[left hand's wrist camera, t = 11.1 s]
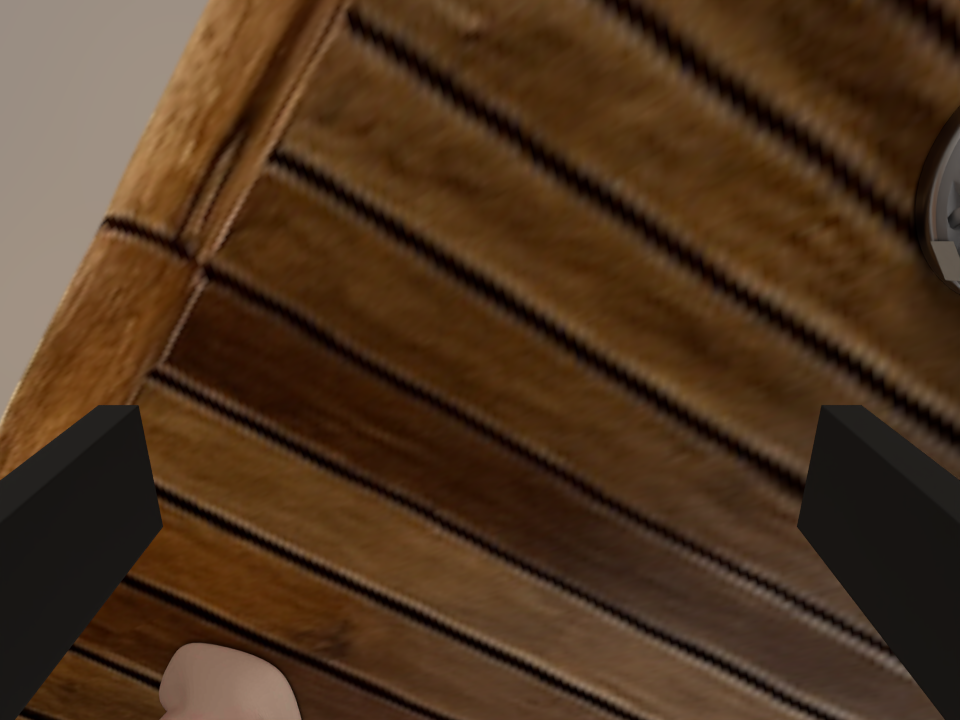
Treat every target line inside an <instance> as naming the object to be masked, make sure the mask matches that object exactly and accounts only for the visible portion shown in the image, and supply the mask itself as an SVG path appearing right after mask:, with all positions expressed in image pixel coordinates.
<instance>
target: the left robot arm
mask: <svg viewBox="0 0 960 720" xmlns="http://www.w3.org/2000/svg"><path fill="white" fill-rule="evenodd" d="M915 221H916V230H917V235H918V240H919V243H920V247H921V250H922V252H923V254H924V257H925V259H926V261H927V262H928V264H929V266H930V267H931V269H932V270H933V272H934V273H935V274H936V275H937V277H938V278H939V279H940V280H941V281H942V282H943V283H944V284H945V285H947V286H948V287H949V288H951V289H952V290H953V291H955V292H956V293H958V294H960V106H959V107H958V109H957V110H956V111H955V112H954V113H953V114H952V116H951V117H950V119H949V120H948V121H947V123H946V124H945V125H944V127H943V128H942V130H941V132H940V133H939V135H938V137H937V138H936V140H935V142H934V144H933V146H932V148H931V150H930V152H929V154H928V157H927V159H926V161H925V164H924V167H923V170H922V173H921V176H920V180H919V184H918V189H917V195H916V204H915ZM162 527H163V524H162V519H161V514H160V509H159V504H158V500H157V495H156V490H155V485H154V480H153V475H152V470H151V465H150V460H149V455H148V450H147V445H146V440H145V435H144V430H143V425H142V420H141V415H140V411H139V406H138V405H98V406H97V407H96V408H94V409H93V410H92V411H90V412H89V413H88V414H87V415H85V416H84V417H83V418H81V419H80V420H79V421H77V422H76V423H75V424H73V425H72V426H71V427H70V428H68V429H67V430H66V431H64V432H63V433H62V434H60V435H59V436H58V437H56V438H55V439H54V440H53V441H51V442H50V443H49V444H47V445H46V446H45V447H43V448H42V449H41V450H39V451H38V452H37V453H36V454H34V455H33V456H32V457H30V458H29V459H28V460H26V461H25V462H24V463H23V464H21V465H20V466H19V467H17V468H16V469H15V470H13V471H12V472H11V473H9V474H8V475H7V476H6V477H4V478H3V479H2V480H0V720H15V719H16V718H17V716H18V715H19V714H20V712H21V711H22V710H23V708H24V707H25V706H26V705H27V703H28V702H29V701H30V699H31V698H32V697H33V695H34V694H35V693H36V692H37V690H38V689H39V688H40V686H41V685H42V684H43V682H44V681H45V680H46V678H47V677H48V676H49V675H50V673H51V672H52V671H53V669H54V668H55V667H56V665H57V664H58V663H59V662H60V660H61V659H62V658H63V656H64V655H65V654H66V652H67V651H68V650H69V649H70V647H71V646H72V645H73V643H74V642H75V641H76V639H77V638H78V637H79V635H80V634H81V633H82V632H83V630H84V629H85V628H86V626H87V625H88V624H89V622H90V621H91V620H92V619H93V617H94V616H95V615H96V613H97V612H98V611H99V609H100V608H101V607H102V605H103V604H104V603H105V602H106V600H107V599H108V598H109V596H110V595H111V594H112V592H113V591H114V590H115V589H116V587H117V586H118V585H119V583H120V582H121V581H122V579H123V578H124V577H125V575H126V574H127V573H128V572H129V570H130V569H131V568H132V566H133V565H134V564H135V562H136V561H137V560H138V559H139V557H140V556H141V555H142V553H143V552H144V551H145V549H146V548H147V547H148V546H149V544H150V543H151V542H152V540H153V539H154V538H155V536H156V535H157V534H158V532H159V531H160V530H161V529H162ZM797 527H798V529H799V530H800V531H801V532H802V534H803V535H804V536H805V538H806V539H807V540H808V542H809V543H810V544H811V546H812V547H813V548H814V549H815V551H816V552H817V553H818V555H819V556H820V557H821V559H822V560H823V561H824V562H825V564H826V565H827V566H828V568H829V569H830V570H831V572H832V573H833V574H834V575H835V577H836V578H837V579H838V581H839V582H840V583H841V585H842V586H843V587H844V589H845V590H846V591H847V592H848V594H849V595H850V596H851V598H852V599H853V600H854V602H855V603H856V604H857V605H858V607H859V608H860V609H861V611H862V612H863V613H864V615H865V616H866V617H867V619H868V620H869V621H870V622H871V624H872V625H873V626H874V628H875V629H876V630H877V632H878V633H879V634H880V635H881V637H882V638H883V639H884V641H885V642H886V643H887V645H888V646H889V647H890V649H891V650H892V651H893V652H894V654H895V655H896V656H897V658H898V659H899V660H900V662H901V663H902V664H903V665H904V667H905V668H906V669H907V671H908V672H909V673H910V675H911V676H912V677H913V678H914V680H915V681H916V682H917V684H918V685H919V686H920V688H921V689H922V690H923V692H924V693H925V694H926V695H927V697H928V698H929V699H930V701H931V702H932V703H933V705H934V706H935V707H936V708H937V710H938V711H939V712H940V714H941V715H942V716H943V718H944V719H945V720H960V480H958V479H957V478H956V477H954V476H953V475H952V474H951V473H949V472H948V471H947V470H945V469H944V468H943V467H941V466H940V465H939V464H937V463H936V462H935V461H934V460H932V459H931V458H930V457H928V456H927V455H926V454H924V453H923V452H922V451H921V450H919V449H918V448H917V447H915V446H914V445H913V444H911V443H910V442H909V441H907V440H906V439H905V438H904V437H902V436H901V435H900V434H898V433H897V432H896V431H894V430H893V429H892V428H890V427H889V426H888V425H887V424H885V423H884V422H883V421H881V420H880V419H879V418H877V417H876V416H875V415H873V414H872V413H871V412H870V411H868V410H867V409H866V408H864V407H863V406H862V405H822V406H821V411H820V415H819V420H818V425H817V430H816V435H815V440H814V445H813V450H812V455H811V460H810V465H809V470H808V475H807V480H806V485H805V490H804V495H803V500H802V504H801V509H800V514H799V519H798V524H797Z"/></svg>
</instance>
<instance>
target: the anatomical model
mask: <svg viewBox="0 0 960 720" xmlns="http://www.w3.org/2000/svg"><path fill="white" fill-rule="evenodd" d="M159 698H160V702H161V704H162V706H163V707H164V709H165V710H166V711H167V712H166V713H165V715H164V716H163V717H162V718H161V719H160V720H301V716H300V712H299V709H298V705H297V702H296V699H295V697H294V694H293V691H292V689H291V687H290V685H289V683H288V681H287V680H286V678H285V677H284V675H283V674H282V673H281V672H280V671H279V670H278V669H277V668H276V667H274V666H273V665H271V664H270V663H268V662H267V661H265V660H263V659H261V658H258V657H256V656H254V655H251V654H248V653H245V652H242V651H239V650H235V649H231V648H227V647H223V646H218V645H213V644H206V643H191V644H187V645H184V646H182V647H181V648H180V649H179V650H178V651H177V652H176V653H175V655H174V656H173V657H172V659H171V661H170V663H169V665H168V667H167V669H166V671H165V673H164V675H163V678H162V682H161V685H160V690H159Z"/></svg>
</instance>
